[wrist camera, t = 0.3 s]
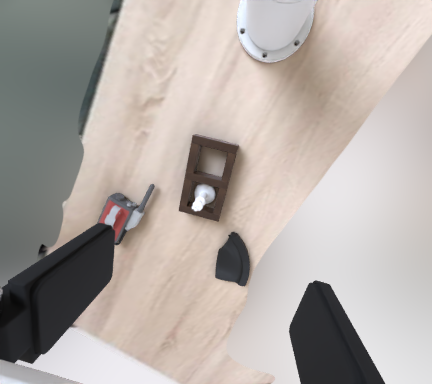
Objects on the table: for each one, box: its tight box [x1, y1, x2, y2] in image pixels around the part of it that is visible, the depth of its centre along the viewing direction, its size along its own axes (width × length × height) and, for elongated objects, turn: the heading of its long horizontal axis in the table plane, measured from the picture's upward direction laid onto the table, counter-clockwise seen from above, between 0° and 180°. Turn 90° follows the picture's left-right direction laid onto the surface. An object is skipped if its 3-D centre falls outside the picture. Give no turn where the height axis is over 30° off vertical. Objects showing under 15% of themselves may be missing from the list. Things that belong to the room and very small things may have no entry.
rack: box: [179, 134, 239, 222], centre depth 44 cm, size 17×9×3 cm, turn 167°
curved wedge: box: [215, 232, 250, 286], centre depth 50 cm, size 8×14×2 cm, turn 172°
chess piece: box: [191, 183, 216, 211], centre depth 42 cm, size 5×5×10 cm
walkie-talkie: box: [98, 184, 155, 245], centre depth 48 cm, size 9×4×20 cm
